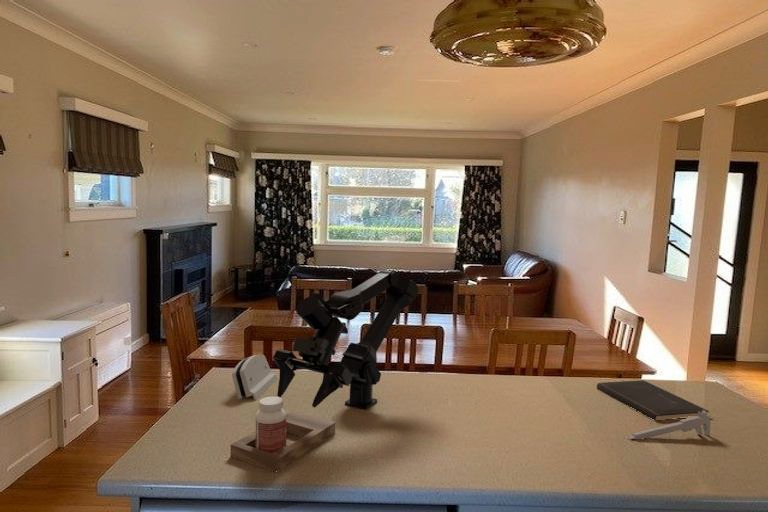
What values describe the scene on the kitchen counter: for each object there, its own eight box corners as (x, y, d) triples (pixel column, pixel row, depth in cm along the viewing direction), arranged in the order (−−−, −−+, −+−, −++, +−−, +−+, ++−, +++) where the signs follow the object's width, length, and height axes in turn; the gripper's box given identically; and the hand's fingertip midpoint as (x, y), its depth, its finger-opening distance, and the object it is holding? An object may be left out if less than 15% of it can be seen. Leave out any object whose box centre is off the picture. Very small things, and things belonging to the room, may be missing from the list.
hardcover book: (643, 387, 149) (643, 380, 148) (708, 419, 126) (708, 410, 126) (596, 390, 145) (596, 382, 145) (654, 423, 123) (655, 414, 123)
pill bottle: (292, 452, 102) (292, 400, 101) (266, 463, 97) (266, 408, 96) (275, 442, 106) (275, 392, 105) (249, 451, 102) (250, 399, 101)
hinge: (255, 400, 130) (243, 364, 129) (239, 405, 130) (227, 369, 130) (278, 379, 146) (267, 347, 146) (263, 383, 147) (253, 351, 146)
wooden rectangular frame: (293, 420, 118) (293, 410, 117) (335, 432, 112) (335, 422, 112) (230, 456, 100) (230, 444, 100) (276, 472, 94) (276, 460, 94)
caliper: (705, 435, 116) (707, 409, 116) (709, 437, 115) (711, 411, 115) (627, 439, 113) (629, 412, 113) (630, 441, 112) (632, 414, 112)
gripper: (278, 315, 114) (245, 376, 106) (348, 329, 107) (318, 396, 98) (297, 339, 123) (267, 397, 114) (363, 354, 115) (336, 417, 107)
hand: (295, 401), depth 108 cm, fingers open, 9 cm apart
